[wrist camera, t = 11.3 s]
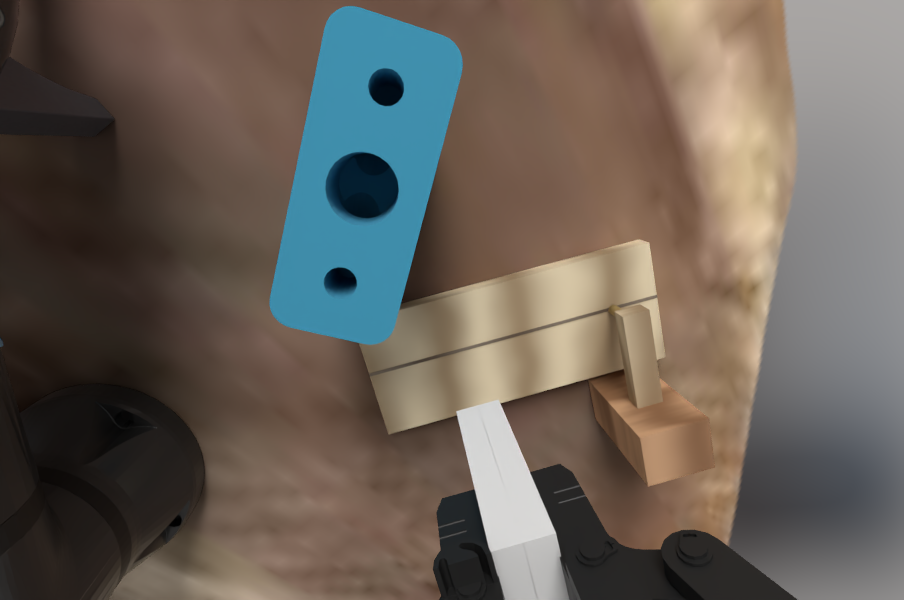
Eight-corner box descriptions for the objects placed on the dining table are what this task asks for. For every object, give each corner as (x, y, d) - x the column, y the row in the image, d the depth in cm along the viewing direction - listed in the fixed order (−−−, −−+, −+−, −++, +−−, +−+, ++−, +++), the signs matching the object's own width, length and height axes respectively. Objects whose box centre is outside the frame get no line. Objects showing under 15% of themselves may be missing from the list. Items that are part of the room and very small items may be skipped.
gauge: (596, 424, 46) (649, 493, 36) (572, 299, 43) (623, 338, 33) (649, 409, 46) (715, 474, 37) (629, 283, 43) (696, 318, 33)
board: (388, 423, 44) (388, 434, 42) (354, 316, 41) (352, 323, 39) (655, 349, 45) (665, 357, 43) (638, 239, 42) (649, 242, 40)
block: (392, 260, 40) (388, 349, 21) (329, 244, 39) (265, 321, 20) (432, 105, 38) (469, 44, 18) (365, 84, 37) (330, -3, 18)
